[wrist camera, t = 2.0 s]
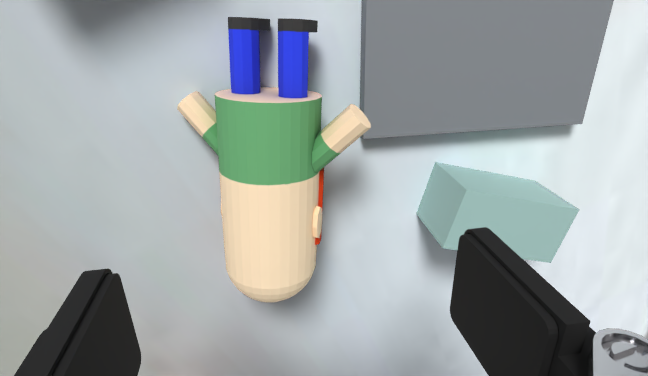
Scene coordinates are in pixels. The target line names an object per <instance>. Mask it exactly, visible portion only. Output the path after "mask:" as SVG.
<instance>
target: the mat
mask: <svg viewBox="0 0 648 376" xmlns="http://www.w3.org/2000/svg"><path fill="white" fill-rule="evenodd" d="M613 1H614V0H362V20H361V76H360V110H361V111H362V112H363V113H364V114H365V116H366V117H367V118H368V120H369V122H370V124H371V128H370V129H369V130H368V131H366V132H365V133H364V134H363V135H362V138H363V139H371V138H385V137H399V136H414V135H428V134H443V133H457V132H471V131H486V130H500V129H515V128H529V127H544V126H558V125H572V124H582V122H583V118H584V114H585V110H586V106H587V102H588V99H589V95H590V91H591V87H592V83H593V79H594V75H595V71H596V67H597V63H598V59H599V56H600V52H601V48H602V44H603V40H604V36H605V32H606V28H607V24H608V20H609V16H610V13H611V9H612V5H613Z"/></svg>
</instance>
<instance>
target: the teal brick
mask: <svg viewBox="0 0 648 376" xmlns="http://www.w3.org/2000/svg"><path fill="white" fill-rule="evenodd" d="M578 211H579V209H578V208H576V207H575V206H573V205H572V204H570V203H569V202H567V201H565V200H564V199H562V198H561V197H559V196H558V195H556V194H555V193H553V192H551V191H550V190H548V189H547V188H545V187H544V186H542V185H541V184H539V183H538V182H536V181H533V180H528V179H523V178H518V177H512V176H507V175H502V174H496V173H491V172H486V171H480V170H475V169H470V168H464V167H459V166H454V165H448V164H443V163H438V162H435V165H434V167H433V170H432V173H431V175H430V178H429V181H428V184H427V186H426V189H425V192H424V195H423V197H422V200H421V203H420V205H419V208H418V211H417V215H418V217H419V218H420V219H421V221H422V222H423V223H424V225H425V226H426V227H427V228H428V230H429V231H430V232H431V234H432V235H433V236H434V238H435V239H436V240H437V242H438V243H439V244H440V246H441V247H442V248H443V249H451V250H458V243H459V237H460V236H461V235H464V233H465V231H466V230H467V229H474V228H483V227H487V228H489V229H490V230H491V231H492V232H493V233H495V234H496V235H497V236H498V237H499V238H500V239H501V240H502V241H503V242H504V243H505V244H507V245H508V246H509V247H510V248H511V249H512V250H513V251H514V252H515V253H516V254H517V255H519V256H520V257H521V258H522V259H526V260H534V261H541V262H549V263H551V261H552V260H553V258H554V256H555V254H556V252H557V250H558V248H559V247H560V245H561V243H562V241H563V239H564V237H565V235H566V233H567V232H568V230H569V228H570V226H571V224H572V222H573V220H574V219H575V217H576V215H577V213H578Z"/></svg>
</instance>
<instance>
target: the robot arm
mask: <svg viewBox="0 0 648 376" xmlns="http://www.w3.org/2000/svg"><path fill="white" fill-rule="evenodd" d="M450 314H451V317H452V320H453V322H454V323H455V325H456V326H457V328H458V330H459V331H460V333H461V334H462V336H463V337H464V339H465V340H466V342H467V343H468V345H469V346H470V348H471V349H472V351H473V352H474V354H475V356H476V357H477V359H478V360H479V362H480V363H481V365H482V366H483V368H484V369H485V371H486V372H487V374H488V375H489V376H648V339H647V338H645V337H643V336H641V335H639V334H636V333H633V332H631V331H627V330H622V329H613V328H607V329H603V330H600V331H598V332H597V333H596V332H595V331H593V330H592V329H591V328H590V327H589V324H590V320H588V319H587V318H586V317H585V316H584V315H583V314H582V313H581V312H580V311H579V310H578V309H576V308H575V307H574V306H573V305H572V304H571V303H570V302H569V301H568V300H567V299H566V298H564V297H563V296H562V295H561V294H560V293H559V292H558V291H557V290H556V289H555V288H553V287H552V286H551V285H550V284H549V283H548V282H547V281H546V280H545V279H544V278H543V277H541V276H540V275H539V274H538V273H537V272H536V271H535V270H534V269H533V268H532V267H531V266H529V265H528V264H527V263H526V262H525V261H524V260H523V259H522V258H521V257H520V256H519V255H517V254H516V253H515V252H514V251H513V250H512V249H511V248H510V247H509V246H508V245H507V244H505V243H504V242H503V241H502V240H501V239H500V238H499V237H498V236H497V235H496V234H495V233H493V232H492V231H491V230H490V229H489V228H487V227H483V228H474V229H467V230H466V231H465V233H464V235H461V236H460V237H459V243H458V250H457V258H456V266H455V274H454V281H453V289H452V297H451V305H450ZM140 364H141V352H140V348H139V344H138V340H137V337H136V333H135V329H134V326H133V322H132V318H131V315H130V311H129V307H128V304H127V300H126V296H125V293H124V289H123V286H122V282H121V278H120V276H119V274H117V273H116V274H112V272H111V270H110V269H101V270H92V271H85V272H83V273H82V274H81V276H80V277H79V279H78V281H77V282H76V284H75V285H74V287H73V289H72V290H71V292H70V293H69V295H68V297H67V298H66V300H65V301H64V303H63V305H62V306H61V308H60V309H59V311H58V312H57V314H56V316H55V317H54V319H53V320H52V322H51V324H50V325H49V327H48V328H47V329H46V330H44V331H43V332H42V334H41V335H40V336H39V338H38V339H37V341H36V342H35V344H34V345H33V347H32V349H31V350H30V352H29V353H28V355H27V356H26V358H25V359H24V361H23V363H22V364H21V366H20V367H19V369H18V370H17V372H16V374H15V375H14V376H137V375H138V372H139V368H140Z"/></svg>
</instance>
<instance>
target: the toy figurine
mask: <svg viewBox="0 0 648 376" xmlns="http://www.w3.org/2000/svg"><path fill="white" fill-rule="evenodd" d="M228 30H229V51H230V73H231V89H227V90H222V91H218V92H216V93H215V106H216V111H215V110H214V109H213V107H212V106H211V105H210V104H209V103H208V102H207V101H206V99H205V98H204V97H203V96H202V95H201V94H200V93H199V92H197V91H195V92H193V93H191V94H189V95H188V96H186V97H185V98H184V99H183V100H182V101H181V102H180V103H179V104H178V107H177V109H178V110H179V111H180V113H181V114H182V115H183V116H184V117H185V118H186V119H187V121H188V122H189V123H190V124H191V125H192V126H193V127H194V128H195V130H196V131H197V132H198V133H199V134H200V135H201V136H202V138H203V139H204V140H205V141H206V142H207V143H208V144H209V145H210V147H211V148H212V149H213V150H214V151H215V152H216V153H217V155H218V156H219V172H220V188H221V215H222V220H223V235H224V249H225V259H226V269H227V272H228V275H229V277H230V279H231V281H232V282H233V284H234V285H235V286H236V287H237V289H238V290H239V291H241V292H242V293H243V294H245V295H246V296H247V297H249V298H251V299H254V300H257V301H261V302H278V301H282V300H285V299H288V298H290V297H292V296H294V295H296V294H297V293H298V292H299V291H301V290H302V289H303V288H304V287H305V286H306V284H307V283H308V281H309V280H310V279H311V276H312V274H313V271H314V269H315V265H316V249H317V244H319V243H320V241H321V230H322V204H323V178H324V167H325V166H326V165H327V164H328V163H329V162H331V161H332V160H333V159H334V158H335V157H336V156H338V155H339V154H340V153H341V152H342V151H344V150H345V149H346V148H347V147H348V146H350V145H351V144H352V143H353V142H354V141H356V140H357V139H358V138H359V137H360V136H362V135H363V134H364V133H365V132H366V131H368V130H369V129H370V128H371V124H370V122H369V120H368V118H367V117H366V116H365V114H364V113H363V112H362V111H361V110H360V109H359V108H358V107H357V106H355V105H353V104H350V105H349V106H348V107H347V108H346V109H345V110H344V111H343V112H341V113H340V114H339V115H338V116H337V117H336V118H335V119H334V120H333V121H331V122H330V123H329V124H328V125H327V126H326V127H325V128H324V129H323V130H321V102H322V95H321V94H319V93H317V92H313V91H308V40H309V32H317V21H315V20H304V19H278V88H271V87H260V46H259V30H270V19H259V18H242V17H228Z"/></svg>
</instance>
